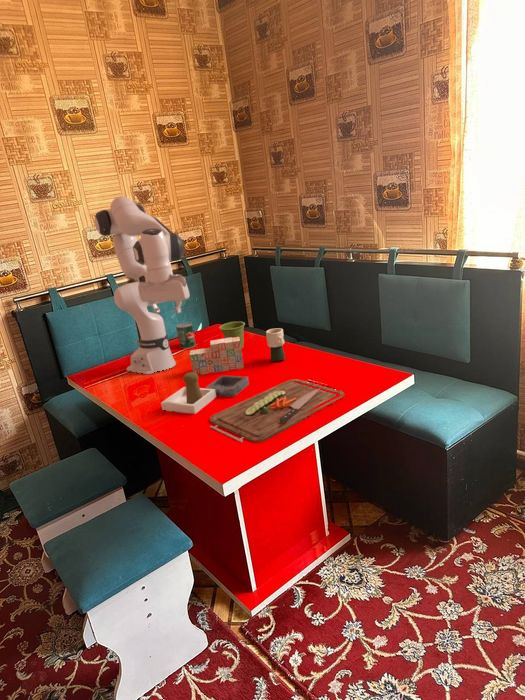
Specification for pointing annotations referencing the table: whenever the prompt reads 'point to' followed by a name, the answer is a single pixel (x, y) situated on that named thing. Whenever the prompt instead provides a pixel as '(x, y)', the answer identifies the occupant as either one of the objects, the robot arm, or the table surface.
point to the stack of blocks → (217, 356)
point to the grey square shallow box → (228, 385)
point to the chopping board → (273, 410)
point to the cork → (192, 388)
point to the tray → (179, 401)
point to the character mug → (276, 343)
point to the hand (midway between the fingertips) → (167, 312)
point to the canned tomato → (186, 335)
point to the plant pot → (233, 330)
